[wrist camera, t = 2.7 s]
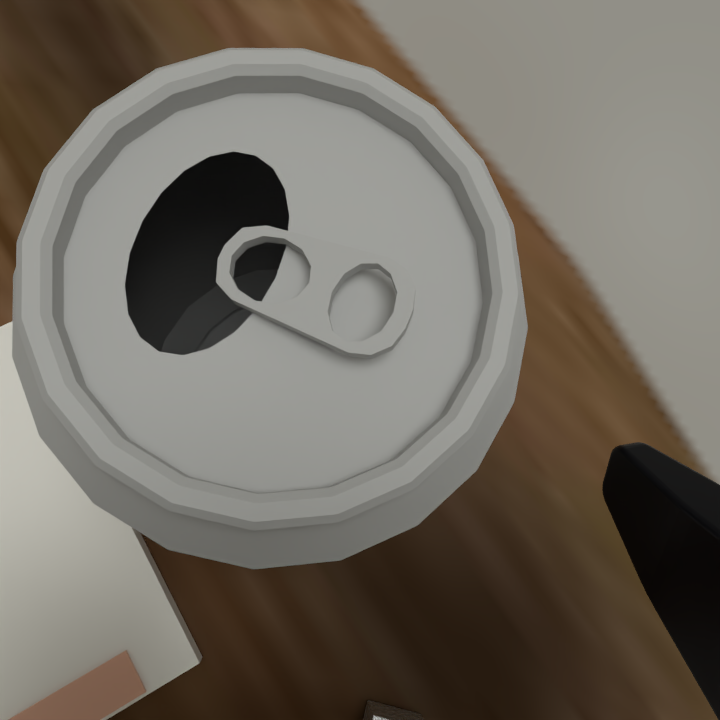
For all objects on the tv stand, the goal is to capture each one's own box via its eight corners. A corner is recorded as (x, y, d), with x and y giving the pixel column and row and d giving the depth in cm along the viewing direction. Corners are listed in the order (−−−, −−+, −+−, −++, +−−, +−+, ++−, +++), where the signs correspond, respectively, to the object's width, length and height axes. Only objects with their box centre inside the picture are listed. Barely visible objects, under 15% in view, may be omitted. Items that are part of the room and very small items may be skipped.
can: (222, 240, 20) (130, -101, 8) (437, 333, 20) (649, 131, 8) (114, 460, 18) (-197, 431, 6) (349, 558, 18) (459, 699, 7)
